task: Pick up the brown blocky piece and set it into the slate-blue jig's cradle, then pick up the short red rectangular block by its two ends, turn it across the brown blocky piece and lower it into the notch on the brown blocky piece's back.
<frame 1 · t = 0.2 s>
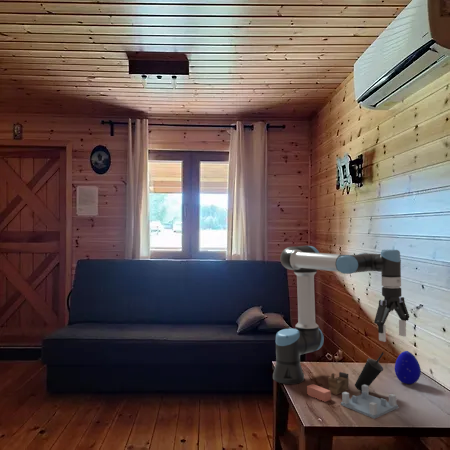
hand: (392, 338, 169), 27 cm above the table, fingers open, 13 cm apart
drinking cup: (359, 388, 184), point 1 cm above the table
red rectangular block: (318, 397, 178), on the table
ornament: (407, 383, 192), on the table
jig: (369, 406, 168), on the table
brown blocky piece: (338, 390, 185), on the table
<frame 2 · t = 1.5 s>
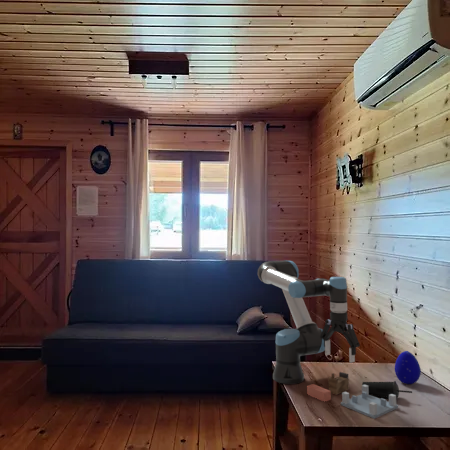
hand: (339, 358, 185), 15 cm above the table, fingers open, 13 cm apart
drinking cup: (362, 387, 182), point 2 cm above the table
everything else where it was.
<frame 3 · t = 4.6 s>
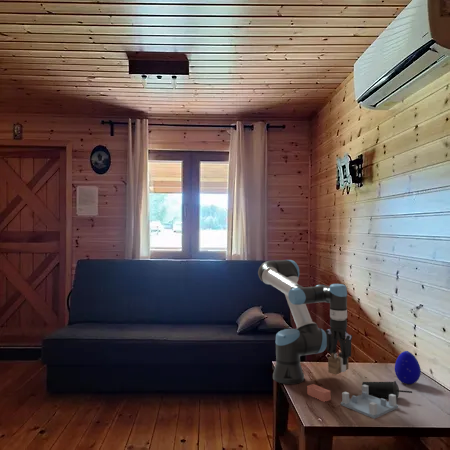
hand: (338, 369, 185), 9 cm above the table, fingers closed on brown blocky piece, 4 cm apart
brown blocky piece: (338, 370, 185), point 9 cm above the table, touching gripper
everything else where it was.
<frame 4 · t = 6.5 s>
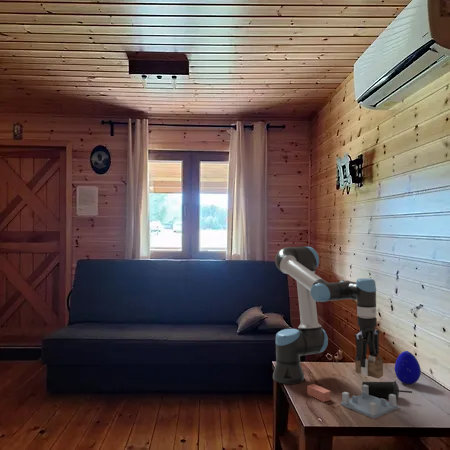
hand: (368, 373, 168), 14 cm above the table, fingers closed on brown blocky piece, 4 cm apart
brown blocky piece: (369, 374, 168), point 13 cm above the table, touching gripper
everything else where it was.
when the fingers open (2 cm above the table, at t = 8.6 s): brown blocky piece stays where it is, resting on jig.
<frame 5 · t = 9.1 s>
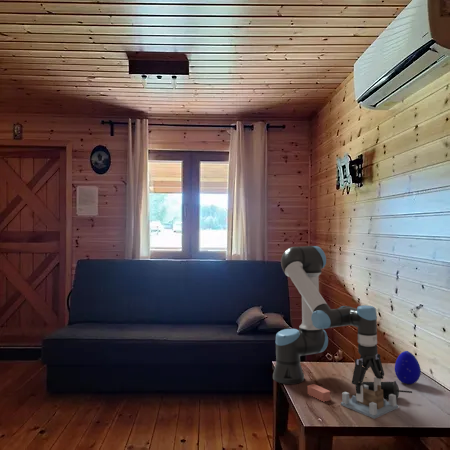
hand: (368, 397, 168), 4 cm above the table, fingers open, 11 cm apart
brown blocky piece: (369, 404, 168), point 1 cm above the table, touching jig
everything else where it was.
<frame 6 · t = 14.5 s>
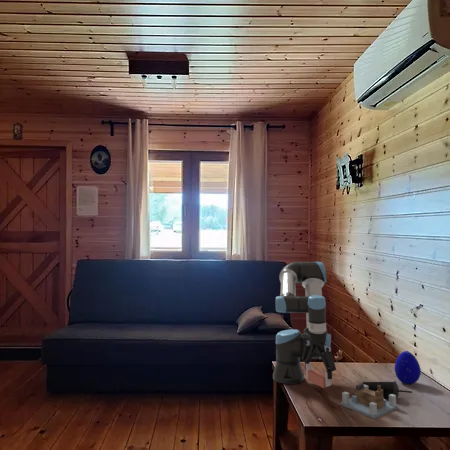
hand: (318, 381, 179), 6 cm above the table, fingers closed on red rectangular block, 10 cm apart
red rectangular block: (318, 382, 179), point 6 cm above the table, touching gripper
everything else where it was.
when the fingers open (8 cm above the table, at t = 19.4 s): red rectangular block drops 2 cm, resting on brown blocky piece.
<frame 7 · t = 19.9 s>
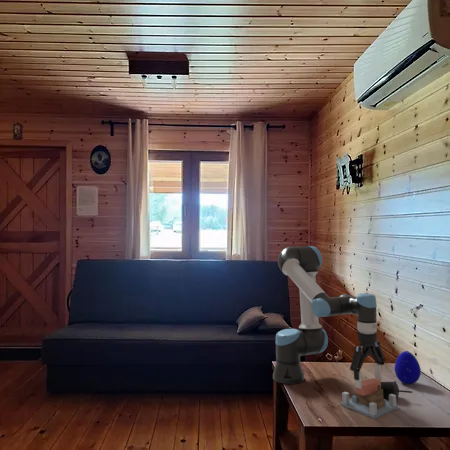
hand: (368, 383, 168), 9 cm above the table, fingers open, 13 cm apart
red rectangular block: (368, 391, 168), point 6 cm above the table, touching brown blocky piece
brown blocky piece: (369, 404, 168), point 1 cm above the table, touching jig, red rectangular block
everything else where it was.
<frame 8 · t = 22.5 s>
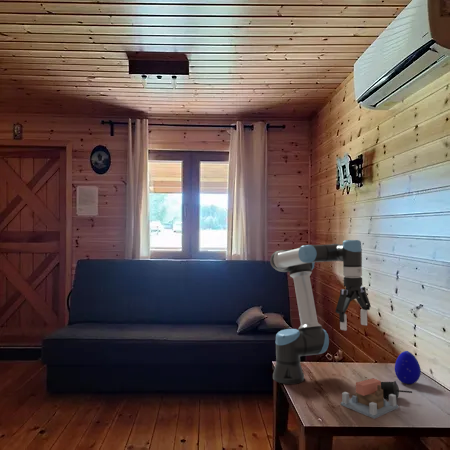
hand: (354, 327, 171), 32 cm above the table, fingers open, 13 cm apart
nothing on the table moved.
at the end: brown blocky piece 0.3 cm off-centre on the jig, point 1.0 cm above the jig's base; red rectangular block 0.1 cm off-centre on the jig, point 6.0 cm above the jig's base; red rectangular block tilted 0° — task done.
